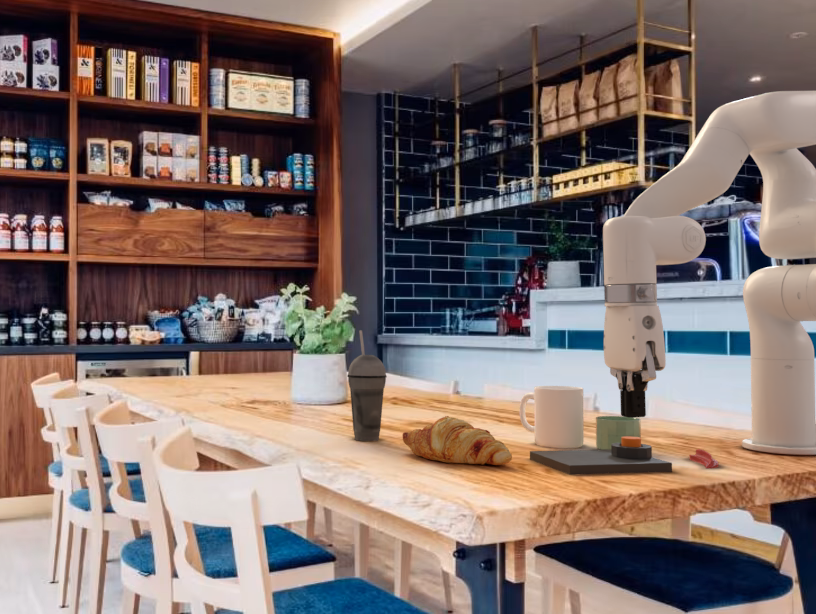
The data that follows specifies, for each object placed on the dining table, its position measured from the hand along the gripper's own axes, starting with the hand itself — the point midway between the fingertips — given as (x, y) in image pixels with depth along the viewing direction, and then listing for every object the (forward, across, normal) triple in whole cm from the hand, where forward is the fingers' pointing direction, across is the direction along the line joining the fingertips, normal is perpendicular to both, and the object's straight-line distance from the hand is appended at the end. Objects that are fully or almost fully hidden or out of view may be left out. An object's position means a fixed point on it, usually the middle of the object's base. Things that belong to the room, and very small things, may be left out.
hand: (633, 416), depth 127 cm
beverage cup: (+7, +32, +34) cm, 47 cm away
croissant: (+7, +8, +26) cm, 28 cm away
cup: (+8, +22, +3) cm, 23 cm away
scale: (+7, 0, +6) cm, 10 cm away
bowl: (+8, +13, -5) cm, 16 cm away
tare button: (+5, 0, +1) cm, 5 cm away
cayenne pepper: (+8, 0, -12) cm, 14 cm away
